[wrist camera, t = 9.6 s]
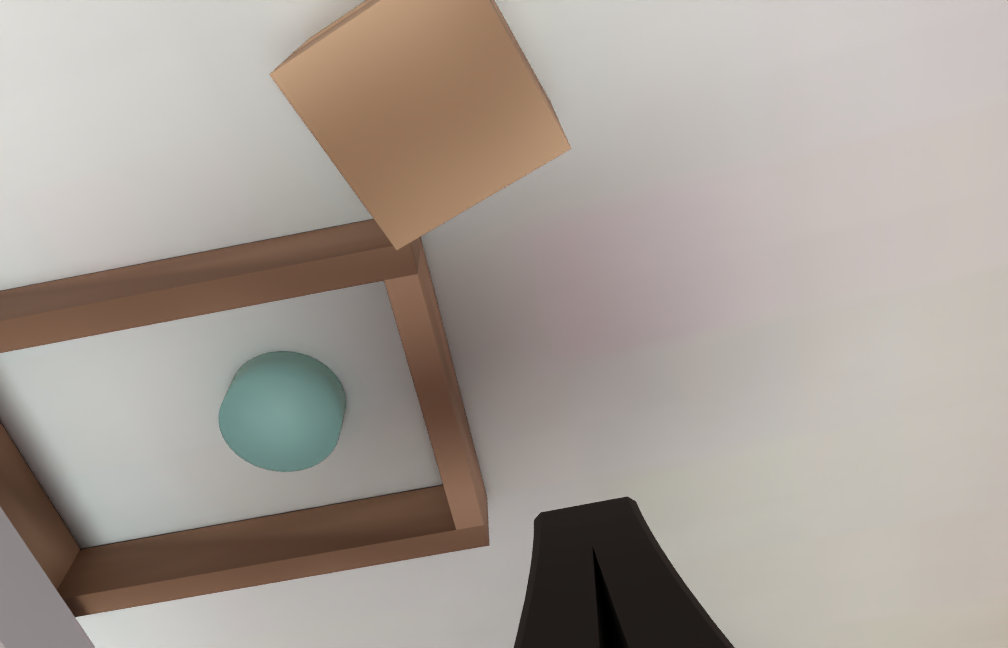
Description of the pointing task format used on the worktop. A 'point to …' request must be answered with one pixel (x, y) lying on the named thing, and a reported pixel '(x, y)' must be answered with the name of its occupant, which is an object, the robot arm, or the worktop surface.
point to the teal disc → (283, 411)
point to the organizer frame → (273, 539)
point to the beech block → (422, 108)
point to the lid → (31, 600)
